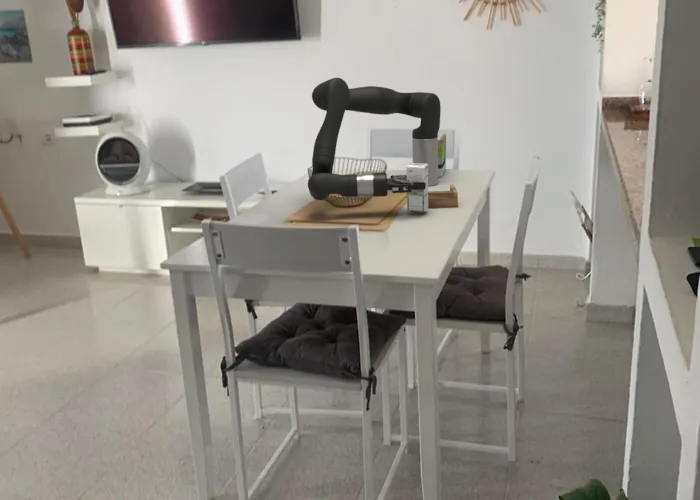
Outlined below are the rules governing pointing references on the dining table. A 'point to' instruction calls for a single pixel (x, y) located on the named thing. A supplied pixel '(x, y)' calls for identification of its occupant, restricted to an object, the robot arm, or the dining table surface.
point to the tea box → (441, 154)
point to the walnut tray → (443, 198)
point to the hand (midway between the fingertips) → (424, 182)
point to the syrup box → (417, 198)
